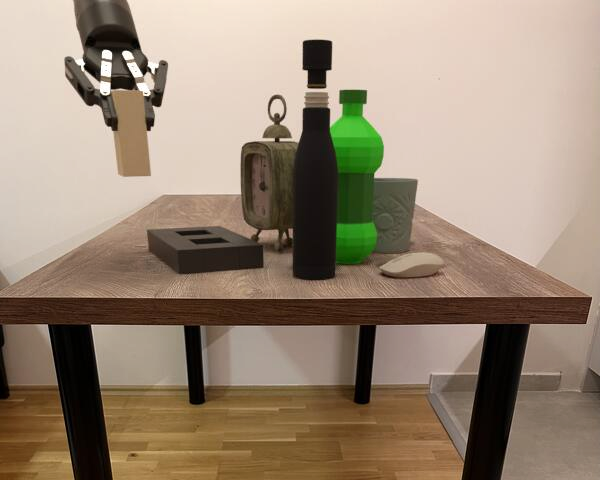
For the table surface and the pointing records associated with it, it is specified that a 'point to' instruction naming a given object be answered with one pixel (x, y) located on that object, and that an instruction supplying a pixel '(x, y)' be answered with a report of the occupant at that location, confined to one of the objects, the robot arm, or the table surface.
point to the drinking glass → (393, 213)
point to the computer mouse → (413, 265)
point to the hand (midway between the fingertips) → (132, 125)
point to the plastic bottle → (355, 178)
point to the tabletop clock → (269, 180)
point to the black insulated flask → (315, 174)
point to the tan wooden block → (131, 134)
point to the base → (204, 249)
